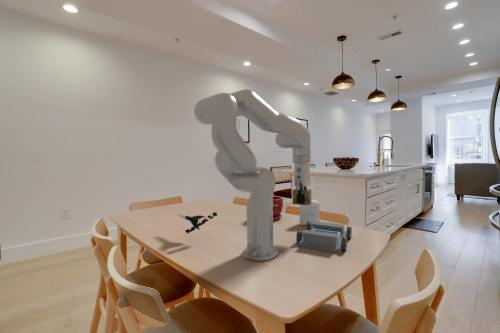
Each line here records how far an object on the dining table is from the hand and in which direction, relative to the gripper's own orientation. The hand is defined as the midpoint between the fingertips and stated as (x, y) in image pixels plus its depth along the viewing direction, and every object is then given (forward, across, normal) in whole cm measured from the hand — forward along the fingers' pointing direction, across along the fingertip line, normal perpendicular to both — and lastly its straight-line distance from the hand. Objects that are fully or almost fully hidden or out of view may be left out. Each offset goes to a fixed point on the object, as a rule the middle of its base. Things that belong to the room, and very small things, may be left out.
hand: (302, 201), depth 106 cm
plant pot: (+16, +23, +23) cm, 36 cm away
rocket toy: (+16, -21, +45) cm, 52 cm away
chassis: (+16, -1, -10) cm, 18 cm away
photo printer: (+16, +20, +2) cm, 25 cm away
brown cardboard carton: (+1, 0, 0) cm, 1 cm away
